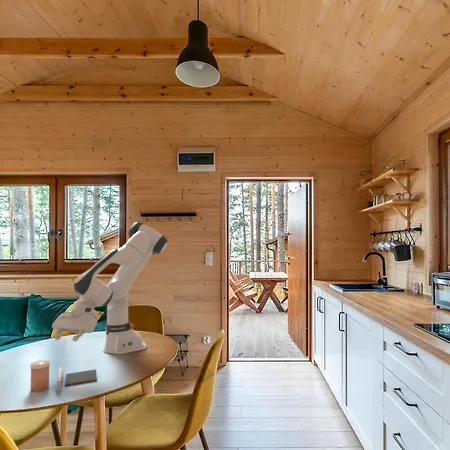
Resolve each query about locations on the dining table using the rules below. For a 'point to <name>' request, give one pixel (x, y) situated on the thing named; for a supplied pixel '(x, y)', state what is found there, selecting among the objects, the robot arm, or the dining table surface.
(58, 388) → the divider
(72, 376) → the plate
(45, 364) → the jar
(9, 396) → the dining table surface
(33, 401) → the dining table surface
